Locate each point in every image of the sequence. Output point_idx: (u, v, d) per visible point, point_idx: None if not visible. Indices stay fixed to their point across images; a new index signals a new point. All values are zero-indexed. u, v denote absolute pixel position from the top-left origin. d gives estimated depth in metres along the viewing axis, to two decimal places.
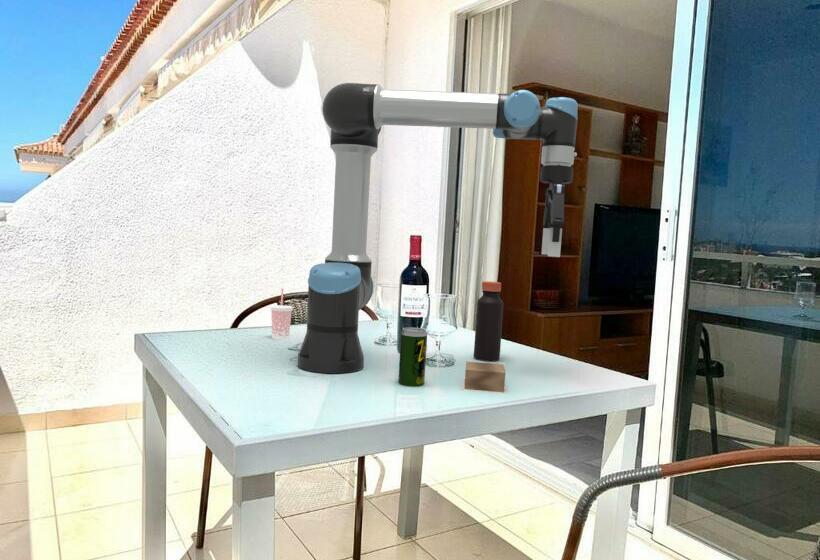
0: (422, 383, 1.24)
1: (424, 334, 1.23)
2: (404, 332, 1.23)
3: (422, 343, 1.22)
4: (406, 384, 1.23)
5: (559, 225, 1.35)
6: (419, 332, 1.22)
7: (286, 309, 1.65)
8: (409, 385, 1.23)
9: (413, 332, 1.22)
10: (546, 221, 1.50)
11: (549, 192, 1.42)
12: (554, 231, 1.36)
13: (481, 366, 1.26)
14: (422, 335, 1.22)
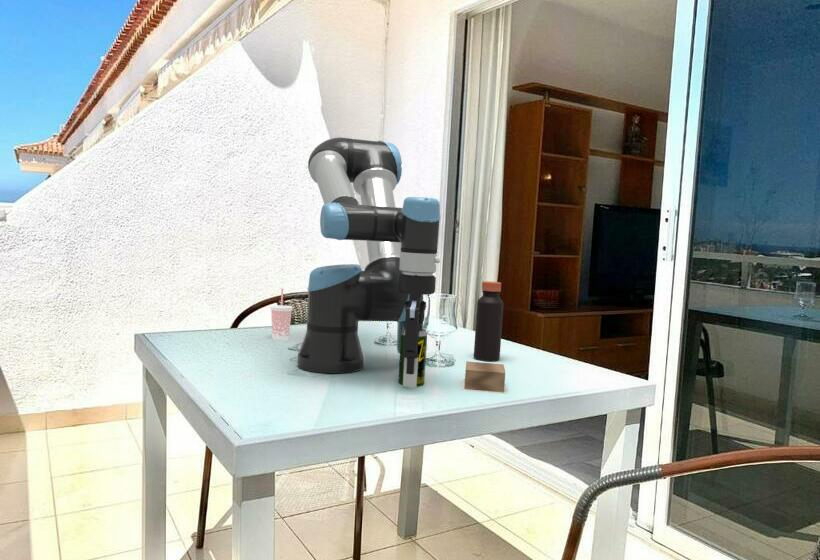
0: (422, 383, 1.24)
1: (424, 334, 1.23)
2: (404, 332, 1.23)
3: (422, 343, 1.22)
4: None
5: (412, 357, 1.19)
6: (419, 332, 1.22)
7: (286, 309, 1.65)
8: None
9: None
10: None
11: (407, 307, 1.22)
12: (407, 362, 1.20)
13: (481, 366, 1.26)
14: (422, 335, 1.22)
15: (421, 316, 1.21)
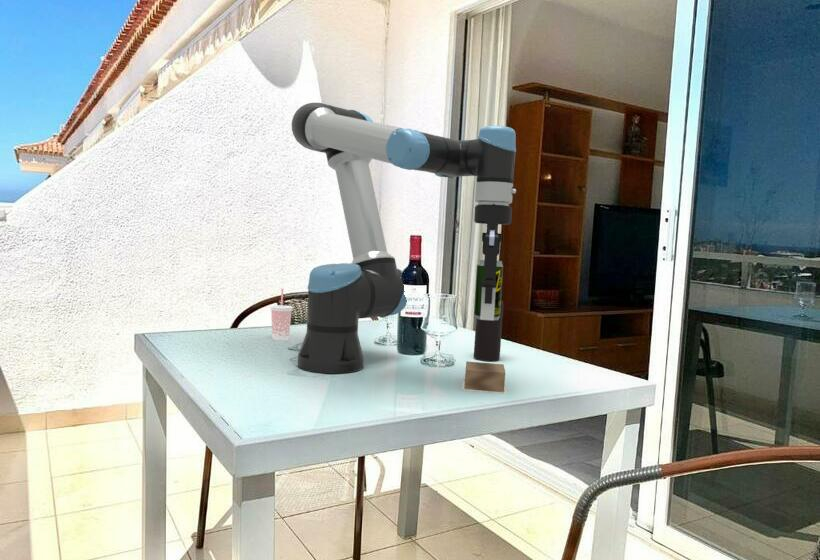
0: (499, 314, 1.23)
1: (501, 264, 1.23)
2: (480, 263, 1.23)
3: (499, 273, 1.22)
4: None
5: (491, 285, 1.19)
6: None
7: (286, 309, 1.65)
8: None
9: None
10: None
11: (484, 237, 1.22)
12: (486, 291, 1.20)
13: (481, 366, 1.26)
14: (499, 265, 1.22)
15: (498, 246, 1.21)
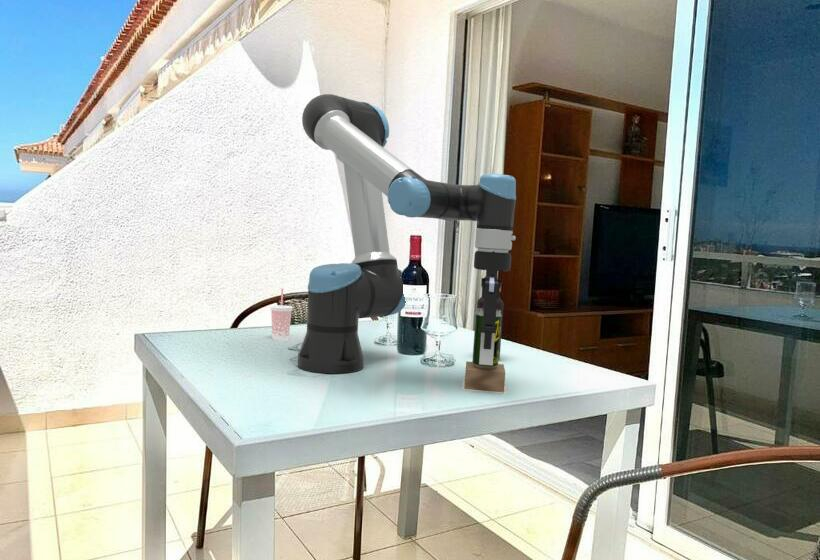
0: (497, 363, 1.25)
1: (499, 314, 1.24)
2: (480, 312, 1.24)
3: (497, 323, 1.23)
4: (481, 364, 1.24)
5: (490, 331, 1.19)
6: None
7: (286, 309, 1.65)
8: (485, 365, 1.24)
9: None
10: None
11: (483, 283, 1.23)
12: (485, 337, 1.20)
13: None
14: (498, 315, 1.23)
15: (498, 292, 1.22)
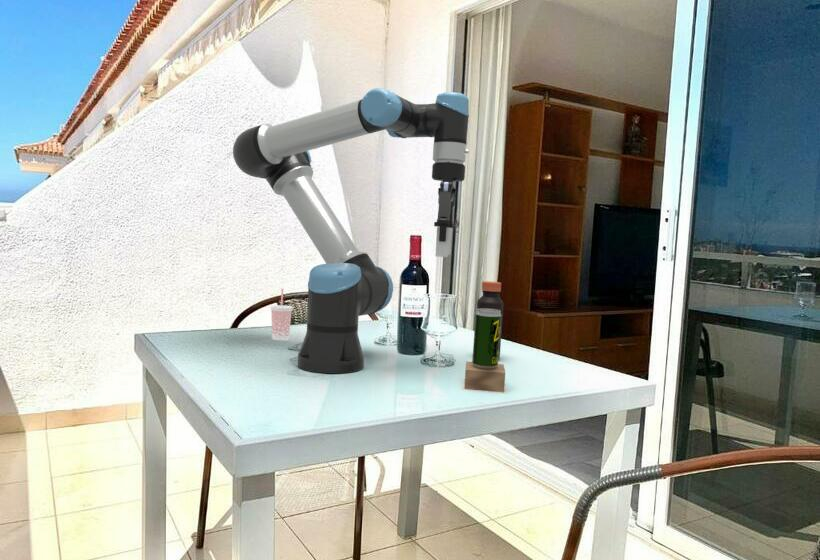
0: (497, 363, 1.25)
1: (499, 314, 1.24)
2: (479, 312, 1.24)
3: (497, 323, 1.23)
4: (481, 364, 1.24)
5: (444, 224, 1.30)
6: (495, 312, 1.23)
7: (286, 309, 1.65)
8: (485, 365, 1.24)
9: (489, 312, 1.23)
10: None
11: (440, 190, 1.37)
12: (440, 230, 1.32)
13: None
14: (497, 315, 1.23)
15: (452, 196, 1.36)
